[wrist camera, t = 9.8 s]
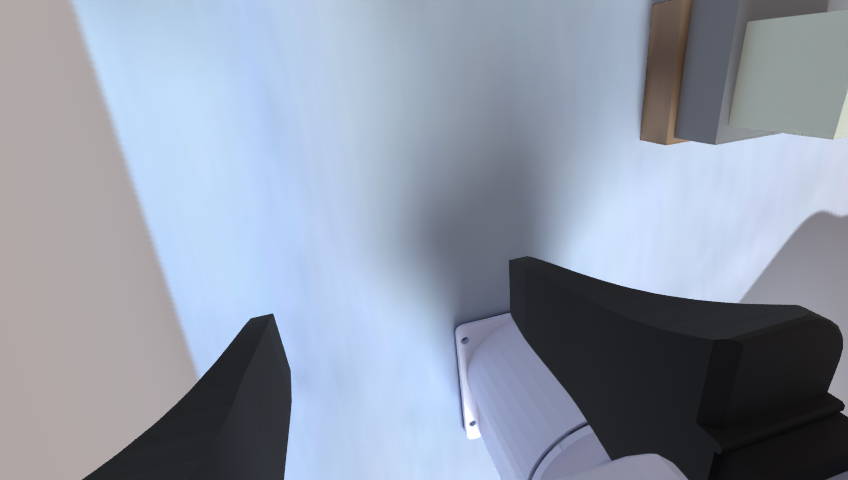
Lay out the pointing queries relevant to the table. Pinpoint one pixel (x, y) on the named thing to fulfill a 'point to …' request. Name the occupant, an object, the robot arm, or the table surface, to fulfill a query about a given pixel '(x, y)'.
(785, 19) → the sage block
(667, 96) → the walnut block
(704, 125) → the grey flat block
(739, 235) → the table surface
